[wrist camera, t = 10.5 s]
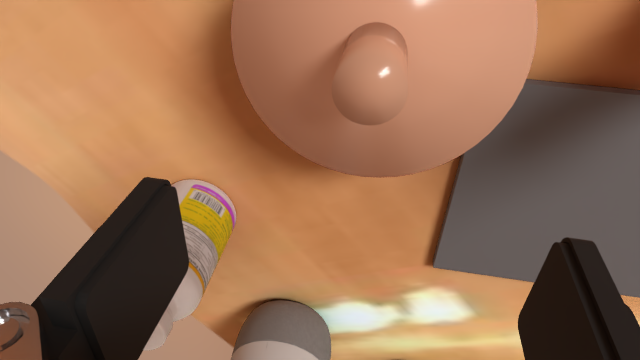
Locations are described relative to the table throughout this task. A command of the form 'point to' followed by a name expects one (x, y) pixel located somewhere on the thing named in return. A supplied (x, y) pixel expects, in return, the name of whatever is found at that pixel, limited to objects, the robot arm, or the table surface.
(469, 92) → the lid
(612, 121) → the mat
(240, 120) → the table surface
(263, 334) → the smart speaker
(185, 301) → the supplement bottle
